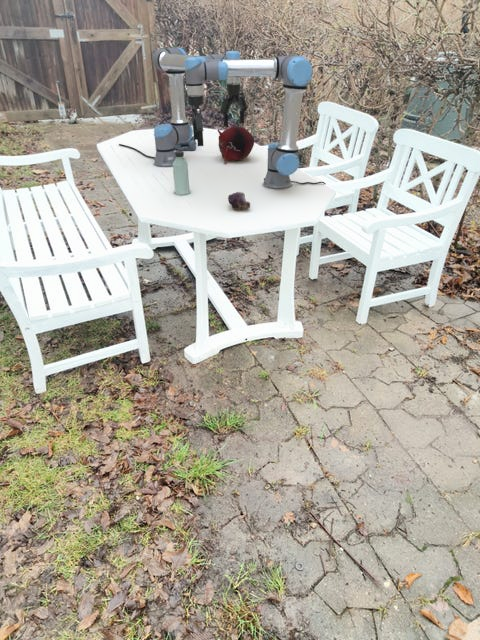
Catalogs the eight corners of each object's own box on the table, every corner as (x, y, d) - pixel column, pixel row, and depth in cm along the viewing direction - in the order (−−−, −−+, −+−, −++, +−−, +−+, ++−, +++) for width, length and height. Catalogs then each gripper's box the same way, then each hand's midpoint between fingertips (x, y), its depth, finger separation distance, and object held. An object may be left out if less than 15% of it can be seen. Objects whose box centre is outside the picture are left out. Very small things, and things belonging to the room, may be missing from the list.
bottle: (174, 194, 244) (170, 154, 232) (176, 190, 251) (172, 151, 239) (188, 194, 244) (185, 154, 232) (190, 190, 251) (187, 150, 239)
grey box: (196, 150, 320) (194, 121, 309) (171, 151, 319) (168, 122, 308) (196, 145, 335) (194, 116, 324) (172, 145, 334) (169, 117, 322)
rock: (241, 205, 233) (224, 208, 228) (240, 189, 229) (223, 191, 225) (252, 209, 223) (235, 212, 219) (252, 191, 219) (234, 194, 215)
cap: (174, 157, 235) (174, 153, 233) (175, 155, 238) (175, 151, 237) (183, 157, 234) (182, 153, 233) (184, 155, 238) (183, 151, 237)
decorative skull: (215, 132, 306) (215, 129, 282) (249, 124, 305) (251, 121, 281) (222, 164, 313) (222, 164, 289) (255, 157, 312) (258, 156, 288)
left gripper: (222, 86, 238) (223, 129, 250) (253, 82, 253) (253, 122, 265) (212, 85, 242) (214, 127, 254) (243, 80, 257) (243, 120, 269)
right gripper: (184, 92, 220) (187, 137, 232) (191, 99, 200) (194, 149, 212) (199, 91, 221) (202, 136, 233) (207, 99, 201) (210, 148, 213)
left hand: (234, 125), depth 259 cm, fingers open, 13 cm apart
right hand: (198, 142), depth 223 cm, fingers open, 13 cm apart
